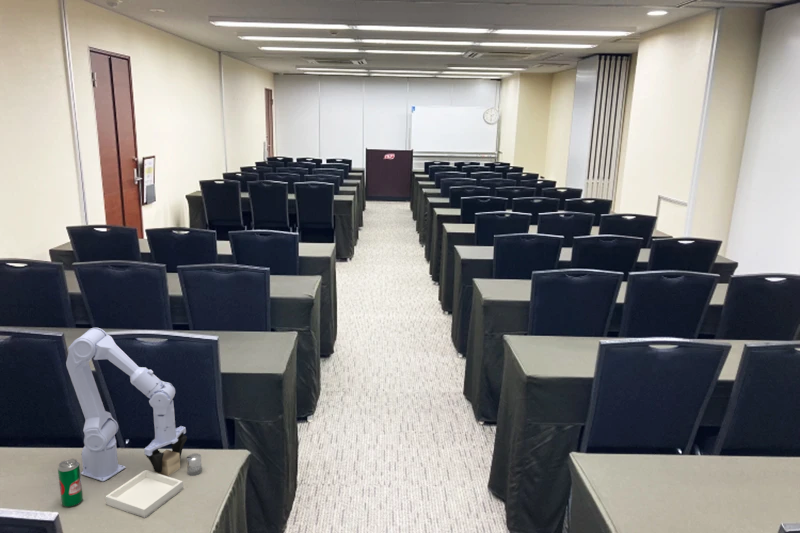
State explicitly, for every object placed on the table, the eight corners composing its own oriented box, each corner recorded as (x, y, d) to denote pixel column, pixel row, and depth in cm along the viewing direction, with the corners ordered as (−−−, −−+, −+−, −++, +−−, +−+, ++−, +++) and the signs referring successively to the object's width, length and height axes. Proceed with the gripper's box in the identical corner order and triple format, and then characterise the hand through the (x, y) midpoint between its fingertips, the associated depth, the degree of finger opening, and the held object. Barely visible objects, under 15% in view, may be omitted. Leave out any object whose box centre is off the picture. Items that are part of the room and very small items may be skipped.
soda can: (73, 509, 151) (69, 469, 148) (57, 506, 152) (52, 467, 149) (87, 498, 156) (83, 459, 153) (71, 495, 156) (67, 456, 154)
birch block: (155, 472, 168) (154, 457, 167) (167, 464, 173) (166, 449, 172) (168, 476, 167) (167, 461, 165) (180, 467, 171) (179, 453, 170)
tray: (106, 504, 153) (105, 496, 153) (146, 477, 166) (145, 469, 165) (145, 518, 148) (144, 509, 148) (183, 488, 161) (182, 481, 160)
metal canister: (184, 473, 168) (183, 458, 167) (194, 467, 172) (193, 452, 171) (195, 477, 167) (194, 462, 166) (204, 470, 170) (203, 455, 169)
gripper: (156, 438, 158) (159, 481, 161) (192, 416, 172) (195, 456, 174) (137, 433, 161) (141, 475, 164) (174, 411, 174) (177, 451, 177)
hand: (167, 465), depth 169 cm, fingers open, 7 cm apart
